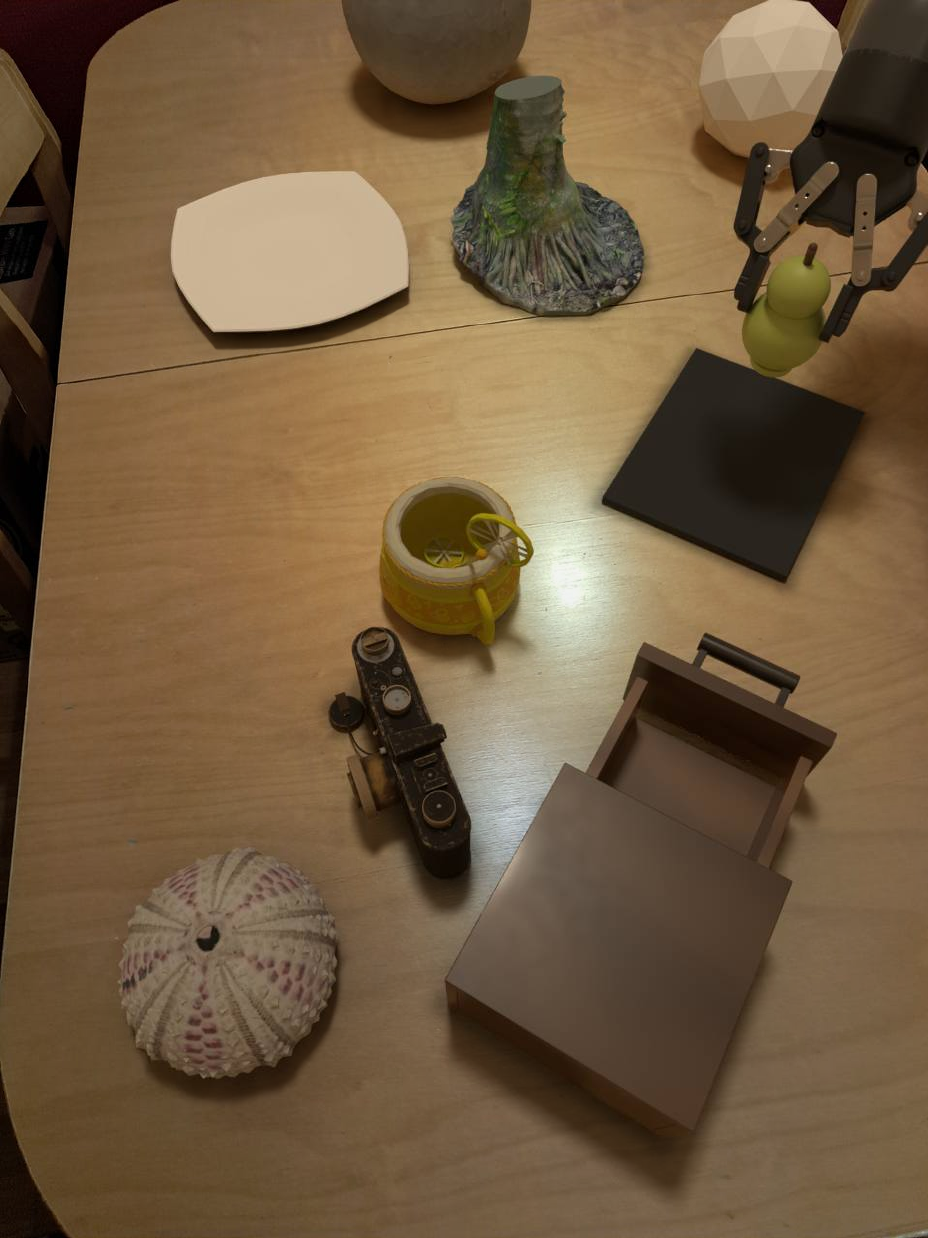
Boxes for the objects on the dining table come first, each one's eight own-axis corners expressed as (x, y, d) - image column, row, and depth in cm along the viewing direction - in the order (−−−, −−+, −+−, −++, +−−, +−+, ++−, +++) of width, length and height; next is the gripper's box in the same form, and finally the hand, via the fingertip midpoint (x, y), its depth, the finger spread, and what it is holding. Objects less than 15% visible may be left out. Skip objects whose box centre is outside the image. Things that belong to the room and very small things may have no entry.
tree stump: (531, 352, 88) (503, 159, 75) (425, 277, 101) (385, 101, 87) (683, 271, 92) (682, 75, 79) (564, 209, 105) (545, 31, 91)
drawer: (652, 643, 70) (669, 595, 65) (824, 724, 67) (858, 681, 61) (544, 844, 63) (551, 809, 57) (732, 947, 59) (761, 922, 53)
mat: (862, 417, 83) (865, 411, 82) (783, 582, 74) (786, 576, 74) (694, 353, 87) (696, 347, 87) (601, 502, 78) (602, 496, 78)
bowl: (562, 79, 110) (575, -66, 97) (447, 160, 102) (445, 14, 89) (431, 19, 117) (427, -124, 104) (315, 90, 109) (294, -55, 96)
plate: (199, 367, 86) (194, 351, 85) (157, 215, 98) (152, 199, 96) (437, 311, 90) (436, 294, 89) (370, 171, 101) (369, 154, 100)
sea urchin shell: (280, 1123, 55) (254, 1116, 48) (87, 1027, 58) (35, 1007, 51) (378, 911, 61) (367, 877, 54) (199, 833, 64) (167, 791, 57)
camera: (318, 692, 69) (302, 639, 63) (403, 664, 71) (396, 608, 64) (389, 903, 62) (380, 869, 55) (484, 867, 63) (486, 829, 56)
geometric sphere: (717, 169, 110) (723, 20, 104) (852, 157, 102) (867, -5, 97) (673, 166, 99) (678, -1, 93) (822, 152, 91) (836, -31, 85)
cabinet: (553, 809, 65) (565, 762, 57) (753, 916, 61) (793, 880, 54) (447, 1005, 58) (444, 980, 51) (663, 1138, 55) (693, 1133, 47)
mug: (360, 557, 76) (344, 460, 65) (483, 512, 78) (486, 411, 68) (422, 687, 70) (415, 602, 59) (554, 634, 72) (568, 544, 62)
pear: (821, 351, 71) (871, 232, 62) (794, 401, 69) (842, 284, 60) (749, 325, 73) (787, 204, 64) (720, 373, 70) (756, 255, 61)
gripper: (792, 17, 60) (680, 283, 65) (1023, 80, 56) (885, 357, 61) (795, 62, 66) (694, 298, 71) (1001, 121, 63) (879, 366, 68)
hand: (783, 324), depth 66 cm, fingers closed on pear, 5 cm apart
